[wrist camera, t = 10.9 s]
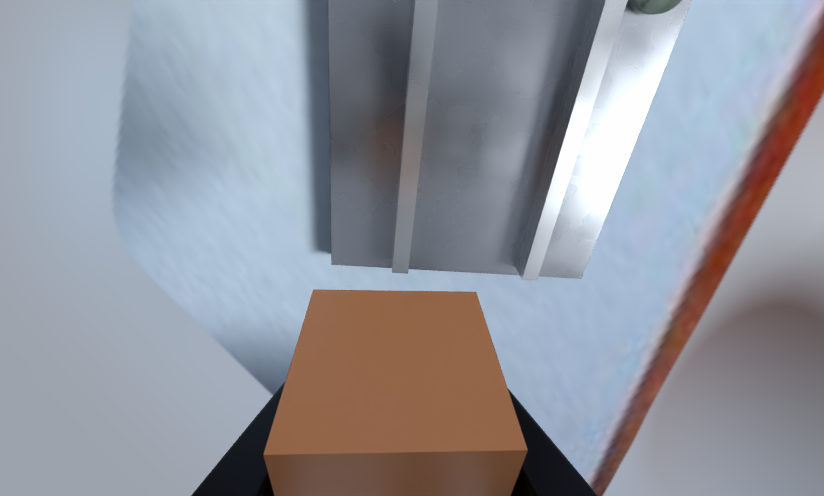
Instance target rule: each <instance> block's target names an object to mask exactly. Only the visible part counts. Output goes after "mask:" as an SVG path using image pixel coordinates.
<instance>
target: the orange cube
mask: <svg viewBox="0 0 824 496" xmlns="http://www.w3.org/2000/svg"><path fill="white" fill-rule="evenodd" d="M527 451H528V449H527V446H526V443H525V440H524V437H523V434H522V431H521V428H520V425H519V422H518V419H517V416H516V413H515V410H514V407H513V404H512V400H511V397H510V394H509V391H508V388H507V385H506V382H505V379H504V376H503V373H502V370H501V367H500V364H499V361H498V358H497V355H496V352H495V349H494V346H493V342H492V339H491V336H490V333H489V330H488V327H487V324H486V321H485V318H484V315H483V312H482V309H481V306H480V303H479V300H478V297H477V294H476V292H442V291H371V290H313V293H312V296H311V299H310V302H309V306H308V309H307V312H306V316H305V319H304V322H303V326H302V329H301V332H300V336H299V339H298V342H297V345H296V349H295V352H294V355H293V359H292V362H291V365H290V369H289V372H288V375H287V378H286V382H285V385H284V388H283V392H282V395H281V398H280V402H279V405H278V408H277V411H276V415H275V418H274V421H273V425H272V428H271V431H270V435H269V438H268V441H267V444H266V448H265V451H264V454H263V455H264V459H265V463H266V467H267V470H268V474H269V478H270V482H271V485H272V489H273V493H274V496H511V493H512V491H513V488H514V485H515V483H516V480H517V478H518V475H519V472H520V470H521V467H522V464H523V462H524V459H525V456H526V454H527Z"/></svg>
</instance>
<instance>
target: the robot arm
mask: <svg viewBox="0 0 824 496" xmlns="http://www.w3.org/2000/svg"><path fill="white" fill-rule="evenodd" d="M285 382H286V381H285ZM285 382H284V383H283V385H282V386H281V387H280V388H279V389H278V391H277V392H276V393H275V394H274V396H273V397H272V398H271V399H270V400H269V402H268V403H267V404H266V405H265V407H264V408H263V409H262V410H261V411H260V413H259V414H258V415H257V416H256V417H255V419H254V420H253V421H252V422H251V424H250V425H249V426H248V427H247V428H246V430H245V431H244V432H243V433H242V435H241V436H240V437H239V438H238V440H237V441H236V442H235V443H234V444H233V446H232V447H231V448H230V449H229V450H228V452H227V453H226V454H225V455H224V456H223V458H222V459H221V460H220V461H219V463H218V464H217V465H216V466H215V468H214V469H213V470H212V471H211V472H210V473H209V475H208V476H207V477H206V478H205V480H204V481H203V482H202V483H201V484H200V486H199V487H198V488H197V489H196V491H195V492H194V493H193V494H192V496H274V493H273V489H272V485H271V482H270V478H269V474H268V470H267V467H266V463H265V459H264V455H263V454H264V451H265V448H266V444H267V441H268V438H269V435H270V431H271V428H272V425H273V421H274V418H275V415H276V411H277V408H278V405H279V402H280V398H281V395H282V392H283V388H284V385H285ZM508 391H509V394H510V397H511V400H512V404H513V407H514V410H515V413H516V416H517V419H518V422H519V425H520V428H521V431H522V434H523V437H524V440H525V443H526V446H527V449H528V451H527V454H526V456H525V459H524V462H523V464H522V467H521V470H520V472H519V475H518V478H517V480H516V483H515V485H514V488H513V491H512V493H511V496H598V495H597V494H596V493H595V492H594V491H593V489H592V488H591V487H590V486H589V485H588V483H587V482H586V481H585V480H584V479H583V477H582V476H581V475H580V474H579V473H578V471H577V470H576V469H575V468H574V467H573V465H572V464H571V463H570V462H569V461H568V460H567V458H566V457H565V456H564V455H563V454H562V452H561V451H560V450H559V449H558V448H557V446H556V445H555V444H554V443H553V442H552V440H551V439H550V438H549V437H548V436H547V434H546V433H545V432H544V431H543V430H542V428H541V427H540V426H539V425H538V424H537V423H536V421H535V420H534V419H533V418H532V417H531V415H530V414H529V413H528V412H527V411H526V409H525V408H524V407H523V406H522V405H521V403H520V402H519V401H518V400H517V399H516V397H515V396H514V395H513V394H512V393H511V391H510V390H509V389H508Z"/></svg>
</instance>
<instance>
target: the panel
mask: <svg viewBox="0 0 824 496" xmlns="http://www.w3.org/2000/svg"><path fill="white" fill-rule="evenodd" d="M691 1H692V0H328V26H329V104H330V181H331V259H332V265H348V266H366V267H384V268H392V273H408V269H419V270H437V271H454V272H472V273H490V274H508V275H520V277H521V279H522V280H536V281H537V278H538V276H543V277H561V278H578V279H581V278H582V276H583V273H584V271H585V268H586V265H587V263H588V260H589V258H590V255H591V253H592V250H593V248H594V245H595V243H596V240H597V238H598V235H599V233H600V230H601V228H602V225H603V223H604V220H605V218H606V215H607V213H608V210H609V207H610V205H611V202H612V200H613V197H614V195H615V192H616V190H617V187H618V185H619V182H620V180H621V177H622V175H623V172H624V170H625V167H626V165H627V162H628V160H629V157H630V155H631V152H632V150H633V147H634V144H635V142H636V139H637V137H638V134H639V132H640V129H641V127H642V124H643V122H644V119H645V117H646V114H647V112H648V109H649V107H650V104H651V102H652V99H653V97H654V94H655V92H656V89H657V86H658V84H659V81H660V79H661V76H662V74H663V71H664V69H665V66H666V64H667V61H668V59H669V56H670V54H671V51H672V49H673V46H674V44H675V41H676V39H677V36H678V34H679V31H680V29H681V26H682V23H683V21H684V18H685V16H686V13H687V11H688V8H689V6H690V3H691Z"/></svg>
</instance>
